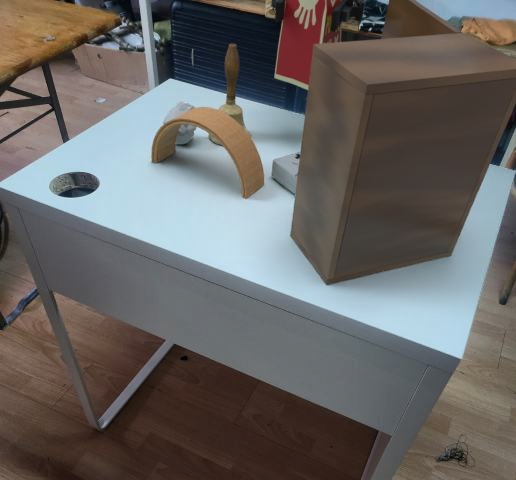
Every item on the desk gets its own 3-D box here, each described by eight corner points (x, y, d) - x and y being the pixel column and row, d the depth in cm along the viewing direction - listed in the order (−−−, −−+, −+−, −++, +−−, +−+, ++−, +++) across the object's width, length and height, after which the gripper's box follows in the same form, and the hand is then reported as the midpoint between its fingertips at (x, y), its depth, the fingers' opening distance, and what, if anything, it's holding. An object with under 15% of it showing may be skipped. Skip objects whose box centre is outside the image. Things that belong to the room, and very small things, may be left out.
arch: (172, 149, 91) (168, 92, 84) (264, 184, 85) (268, 126, 77) (151, 161, 88) (145, 103, 81) (245, 199, 81) (248, 139, 74)
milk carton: (337, 76, 89) (363, -66, 74) (312, 92, 84) (334, -58, 69) (294, 62, 92) (311, -77, 77) (267, 76, 87) (279, -70, 72)
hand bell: (229, 123, 100) (230, 33, 88) (260, 137, 97) (265, 45, 85) (199, 136, 95) (196, 43, 84) (231, 151, 92) (232, 56, 80)
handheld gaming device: (270, 178, 86) (272, 157, 83) (334, 158, 92) (338, 138, 90) (301, 203, 82) (304, 183, 79) (367, 181, 88) (372, 160, 85)
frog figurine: (206, 143, 94) (206, 105, 89) (177, 154, 90) (174, 115, 85) (186, 131, 97) (184, 94, 91) (157, 141, 93) (153, 103, 88)
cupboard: (289, 236, 75) (313, 44, 56) (406, 213, 81) (463, 32, 62) (326, 285, 68) (367, 84, 49) (450, 256, 74) (531, 67, 55)
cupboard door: (390, 147, 96) (432, -12, 77) (438, 207, 83) (503, 31, 64) (357, 149, 95) (391, -13, 76) (401, 210, 82) (455, 32, 63)
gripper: (387, 16, 93) (367, 54, 78) (278, 0, 96) (240, 33, 81) (397, -33, 87) (378, -2, 72) (282, -48, 91) (241, -22, 76)
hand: (305, 17), depth 77 cm, fingers closed on milk carton, 8 cm apart
